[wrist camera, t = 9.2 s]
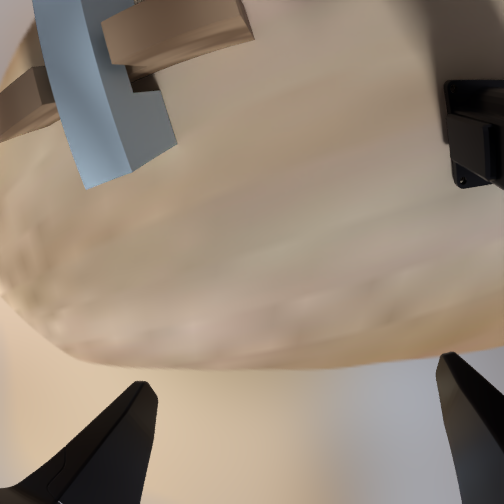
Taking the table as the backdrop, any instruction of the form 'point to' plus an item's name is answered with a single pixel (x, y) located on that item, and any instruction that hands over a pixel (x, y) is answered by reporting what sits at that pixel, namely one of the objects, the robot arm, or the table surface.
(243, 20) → the notched wooden post
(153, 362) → the table surface
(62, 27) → the notched blue slab
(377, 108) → the table surface
